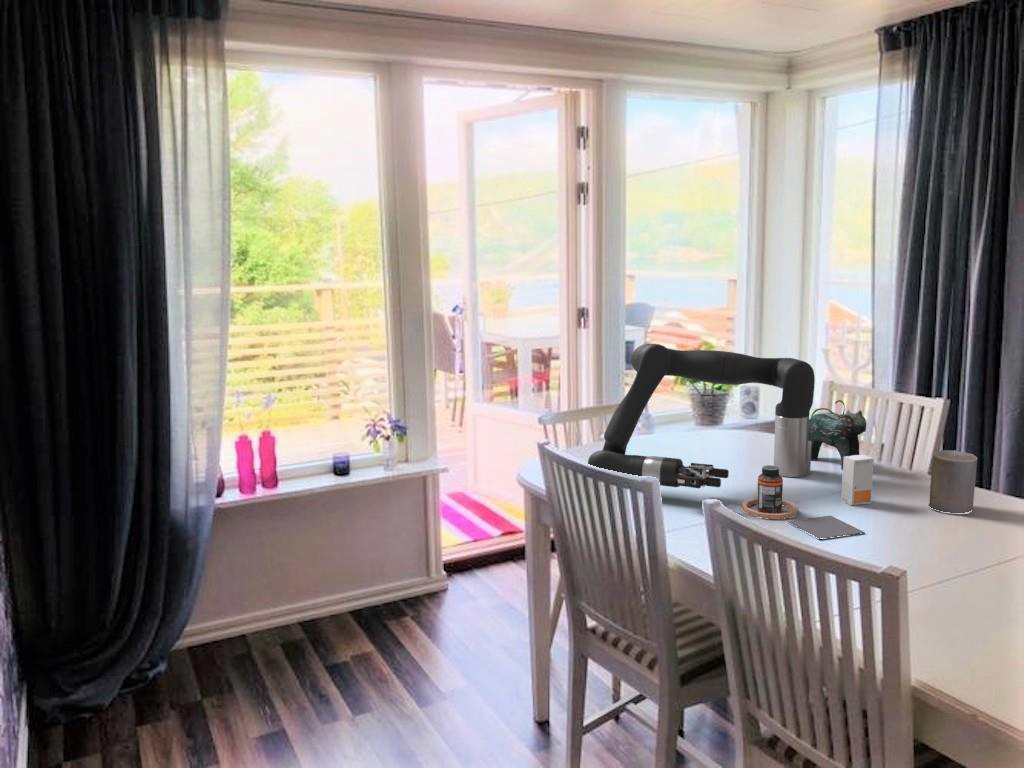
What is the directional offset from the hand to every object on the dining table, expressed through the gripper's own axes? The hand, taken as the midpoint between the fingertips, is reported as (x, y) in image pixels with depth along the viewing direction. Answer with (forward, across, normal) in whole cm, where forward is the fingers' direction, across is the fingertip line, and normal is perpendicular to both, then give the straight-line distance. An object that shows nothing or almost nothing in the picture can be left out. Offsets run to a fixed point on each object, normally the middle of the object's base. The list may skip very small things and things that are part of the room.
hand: (724, 478), depth 202 cm
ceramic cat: (+21, +49, +7) cm, 53 cm away
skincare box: (+30, +15, +7) cm, 34 cm away
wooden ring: (+11, 0, +7) cm, 13 cm away
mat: (+25, -8, +7) cm, 27 cm away
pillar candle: (+52, +18, +7) cm, 55 cm away
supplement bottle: (+11, 0, +7) cm, 13 cm away
